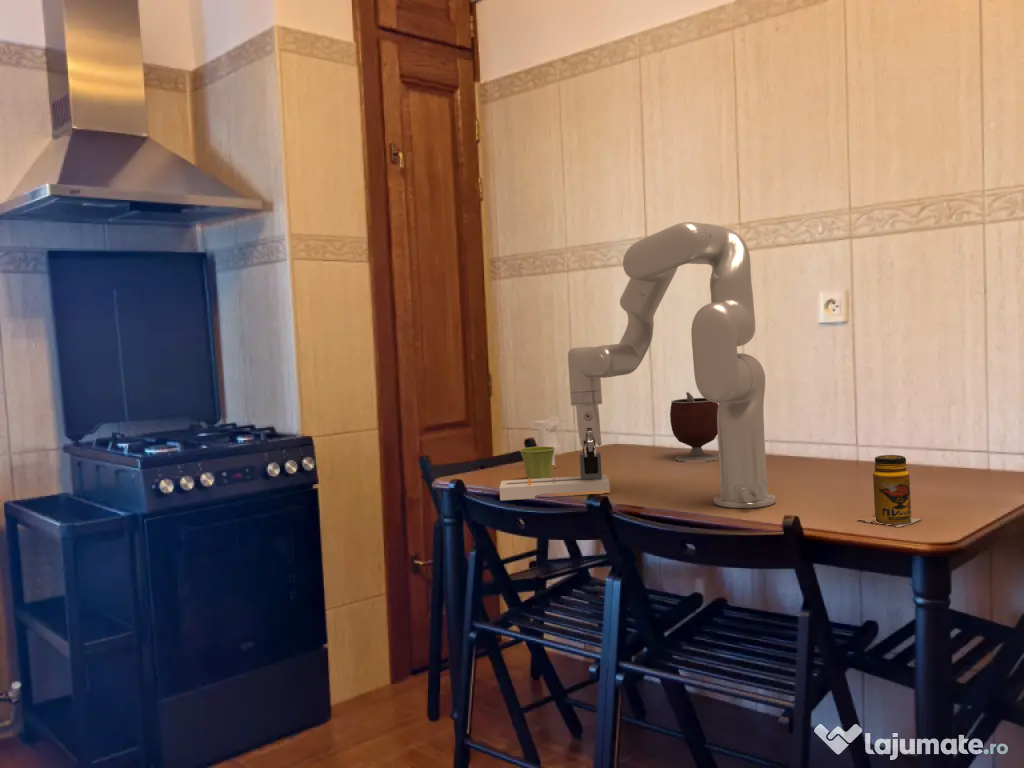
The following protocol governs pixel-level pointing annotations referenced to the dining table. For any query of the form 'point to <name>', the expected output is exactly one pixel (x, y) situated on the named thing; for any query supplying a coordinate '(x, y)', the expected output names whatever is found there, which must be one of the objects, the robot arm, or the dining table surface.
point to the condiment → (892, 491)
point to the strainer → (549, 434)
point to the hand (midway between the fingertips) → (590, 470)
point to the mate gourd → (694, 425)
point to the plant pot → (537, 461)
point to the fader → (582, 470)
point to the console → (550, 486)
